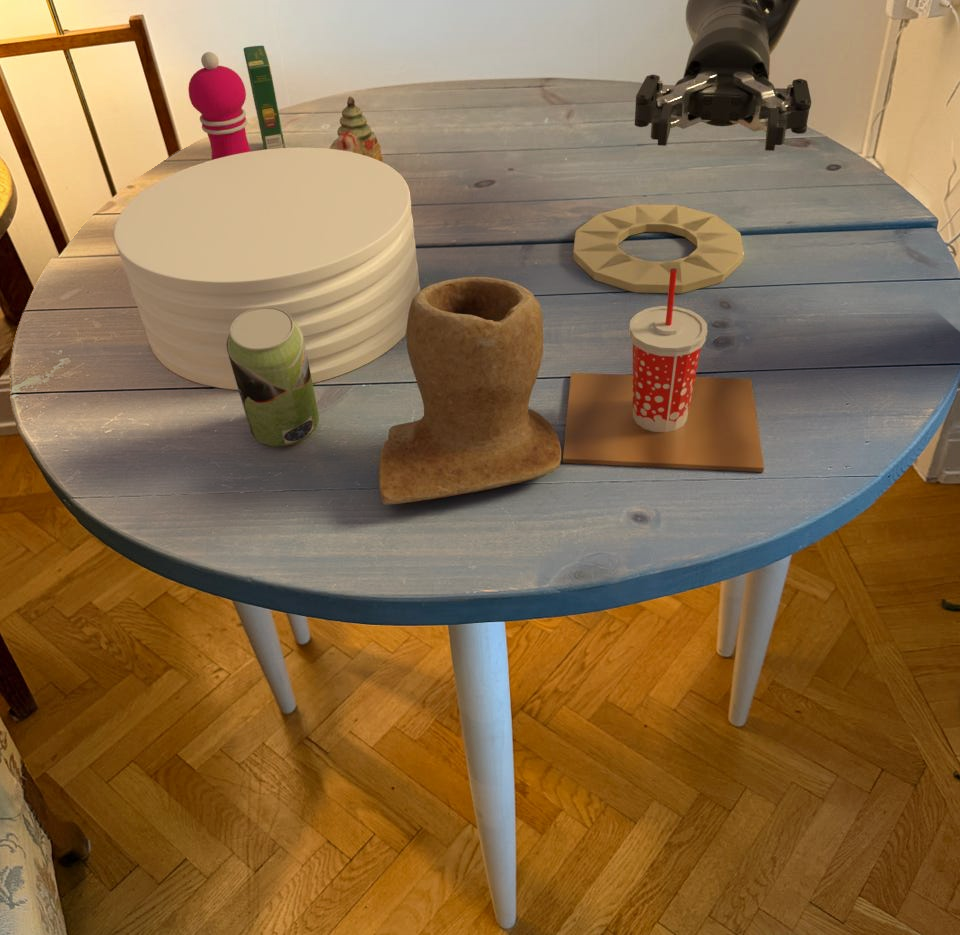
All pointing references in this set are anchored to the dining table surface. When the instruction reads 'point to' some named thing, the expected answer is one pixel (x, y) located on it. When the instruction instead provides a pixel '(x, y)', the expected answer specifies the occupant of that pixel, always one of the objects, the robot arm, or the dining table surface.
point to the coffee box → (264, 97)
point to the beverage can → (273, 376)
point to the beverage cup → (665, 362)
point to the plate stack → (272, 257)
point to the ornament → (356, 133)
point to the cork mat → (696, 445)
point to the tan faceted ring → (700, 269)
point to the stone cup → (470, 394)
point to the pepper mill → (220, 106)
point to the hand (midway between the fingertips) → (716, 136)
